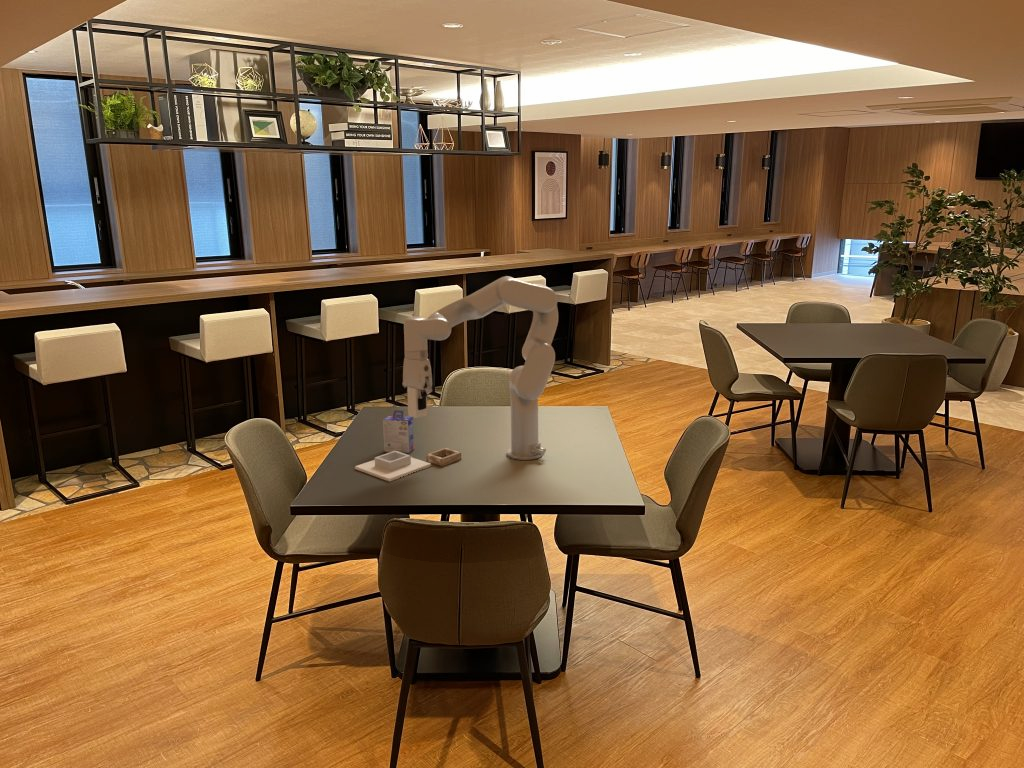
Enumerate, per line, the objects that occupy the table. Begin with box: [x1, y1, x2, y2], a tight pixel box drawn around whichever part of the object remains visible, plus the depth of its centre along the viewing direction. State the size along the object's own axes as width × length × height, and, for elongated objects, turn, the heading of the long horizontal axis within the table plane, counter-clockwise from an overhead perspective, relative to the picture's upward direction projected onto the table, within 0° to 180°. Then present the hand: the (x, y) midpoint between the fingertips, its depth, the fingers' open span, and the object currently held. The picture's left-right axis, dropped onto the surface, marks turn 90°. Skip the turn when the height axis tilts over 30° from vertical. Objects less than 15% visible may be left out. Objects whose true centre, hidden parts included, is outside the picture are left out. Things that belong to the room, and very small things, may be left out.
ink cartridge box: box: [382, 409, 415, 454], centre depth 277 cm, size 10×6×14 cm, turn 78°
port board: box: [354, 451, 432, 482], centre depth 261 cm, size 18×18×4 cm
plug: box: [406, 387, 428, 419], centre depth 259 cm, size 4×5×11 cm
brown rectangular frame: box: [425, 447, 462, 467], centre depth 267 cm, size 8×9×2 cm
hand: (417, 407), depth 260 cm, fingers closed on plug, 4 cm apart
